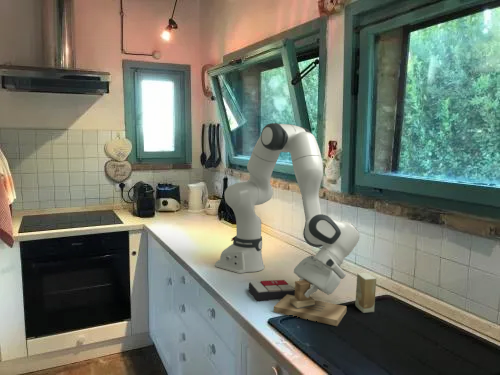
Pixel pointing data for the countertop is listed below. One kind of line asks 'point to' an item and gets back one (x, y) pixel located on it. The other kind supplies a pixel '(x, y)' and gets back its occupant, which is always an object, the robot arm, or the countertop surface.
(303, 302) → the wooden pedestal block
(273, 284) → the black flat box
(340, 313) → the board
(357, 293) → the skincare box
